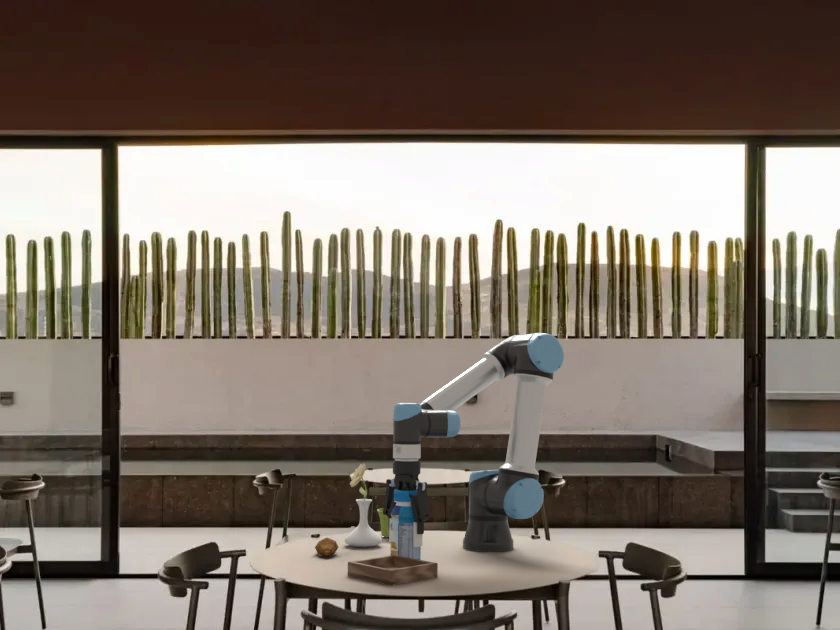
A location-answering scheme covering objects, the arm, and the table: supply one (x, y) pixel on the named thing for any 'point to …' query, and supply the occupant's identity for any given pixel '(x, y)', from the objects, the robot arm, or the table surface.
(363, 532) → the flower in vase
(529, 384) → the robot arm
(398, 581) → the walnut tray
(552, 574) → the table surface
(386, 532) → the plant pot
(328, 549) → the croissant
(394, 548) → the beverage bottle
